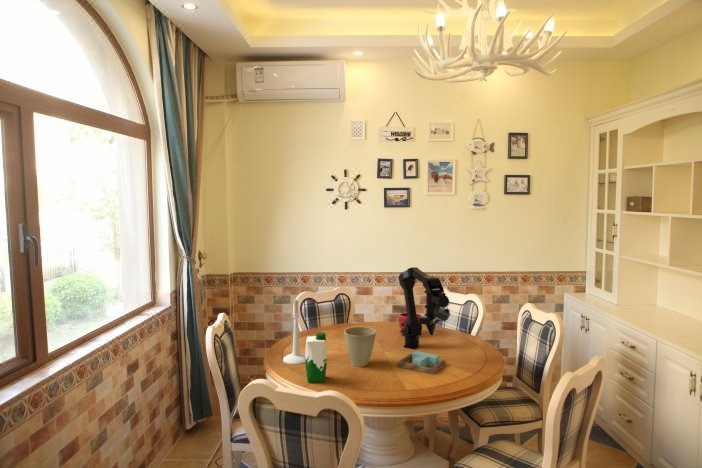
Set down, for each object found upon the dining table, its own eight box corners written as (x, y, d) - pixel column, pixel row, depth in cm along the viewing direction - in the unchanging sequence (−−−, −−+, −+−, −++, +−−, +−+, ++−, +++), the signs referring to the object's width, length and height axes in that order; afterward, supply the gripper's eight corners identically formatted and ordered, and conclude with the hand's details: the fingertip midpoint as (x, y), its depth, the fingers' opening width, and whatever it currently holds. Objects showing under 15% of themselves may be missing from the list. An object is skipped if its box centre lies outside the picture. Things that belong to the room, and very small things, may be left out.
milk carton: (326, 383, 190) (326, 336, 189) (305, 383, 189) (305, 337, 188) (326, 375, 199) (326, 330, 197) (305, 375, 198) (305, 331, 197)
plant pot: (339, 361, 216) (339, 328, 215) (367, 357, 222) (367, 325, 221) (351, 371, 203) (351, 337, 202) (381, 367, 208) (381, 333, 207)
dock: (396, 366, 209) (397, 362, 209) (410, 357, 221) (410, 353, 221) (433, 374, 200) (433, 370, 199) (445, 364, 212) (445, 360, 211)
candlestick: (298, 353, 227) (298, 295, 225) (314, 359, 218) (314, 298, 216) (277, 359, 218) (277, 298, 216) (293, 366, 209) (293, 303, 207)
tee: (404, 366, 209) (404, 358, 209) (415, 359, 219) (415, 351, 219) (428, 371, 203) (428, 363, 203) (438, 363, 213) (438, 355, 213)
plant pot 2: (423, 338, 253) (423, 317, 252) (399, 338, 253) (400, 317, 252) (419, 331, 266) (420, 311, 265) (397, 331, 266) (397, 311, 265)
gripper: (440, 309, 206) (440, 342, 207) (454, 301, 222) (454, 332, 223) (418, 306, 212) (417, 338, 213) (433, 299, 228) (433, 329, 229)
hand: (431, 334), depth 219 cm, fingers closed
